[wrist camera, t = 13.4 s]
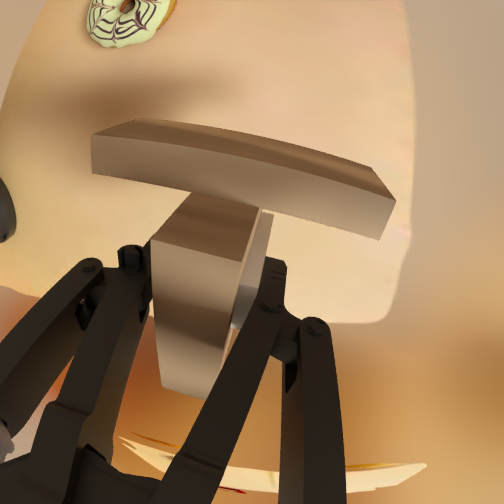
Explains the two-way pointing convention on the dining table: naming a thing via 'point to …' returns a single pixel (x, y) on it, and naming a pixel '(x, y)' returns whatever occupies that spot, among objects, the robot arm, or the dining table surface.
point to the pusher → (225, 223)
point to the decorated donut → (126, 21)
